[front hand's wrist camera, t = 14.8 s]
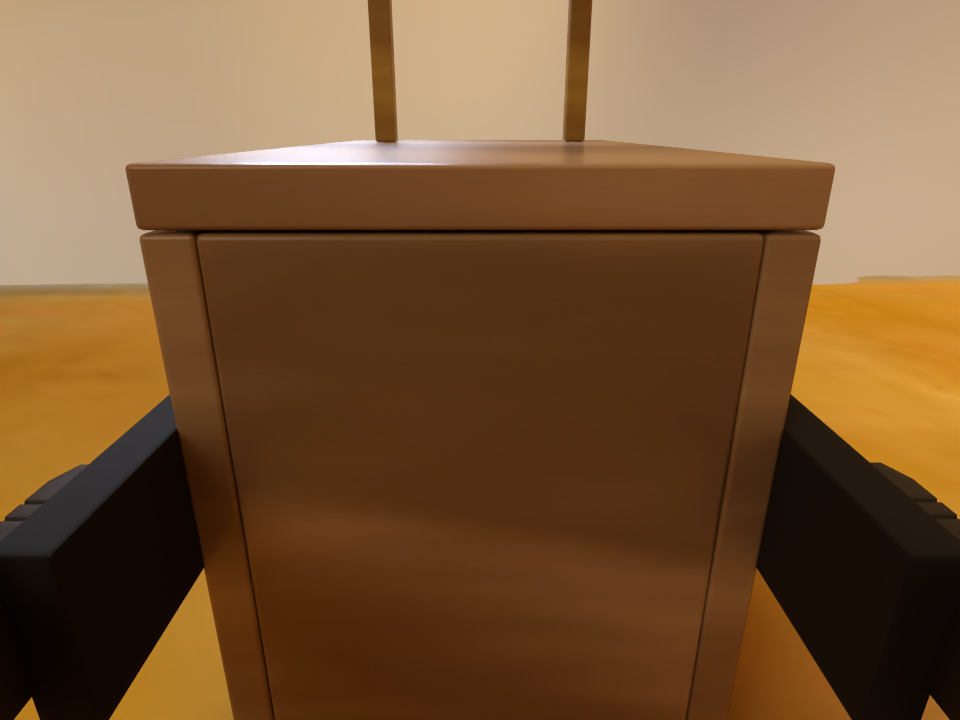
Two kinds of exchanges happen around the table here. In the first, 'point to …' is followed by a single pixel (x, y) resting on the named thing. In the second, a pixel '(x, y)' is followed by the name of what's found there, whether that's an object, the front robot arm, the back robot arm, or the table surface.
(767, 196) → the lid
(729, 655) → the chest
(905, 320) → the table surface
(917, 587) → the front robot arm
